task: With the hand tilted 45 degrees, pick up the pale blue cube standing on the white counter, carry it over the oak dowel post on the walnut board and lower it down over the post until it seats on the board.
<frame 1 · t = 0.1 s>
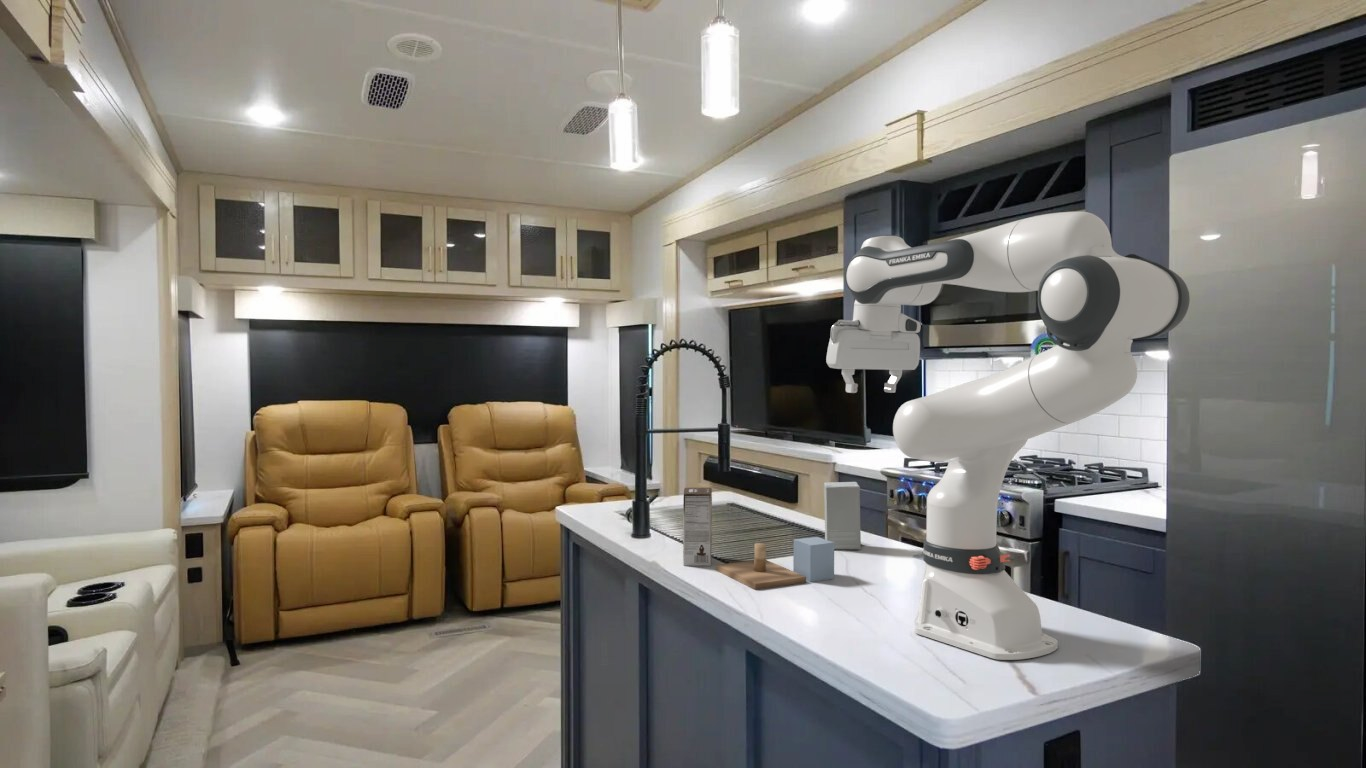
hand: (870, 392, 148), 39 cm above the counter, tool pointing down, fingers open, 8 cm apart
pale blue cube: (813, 576, 158), on the counter
coffee box: (697, 562, 171), on the counter
post base: (759, 576, 158), on the counter
skincare box: (841, 548, 185), on the counter
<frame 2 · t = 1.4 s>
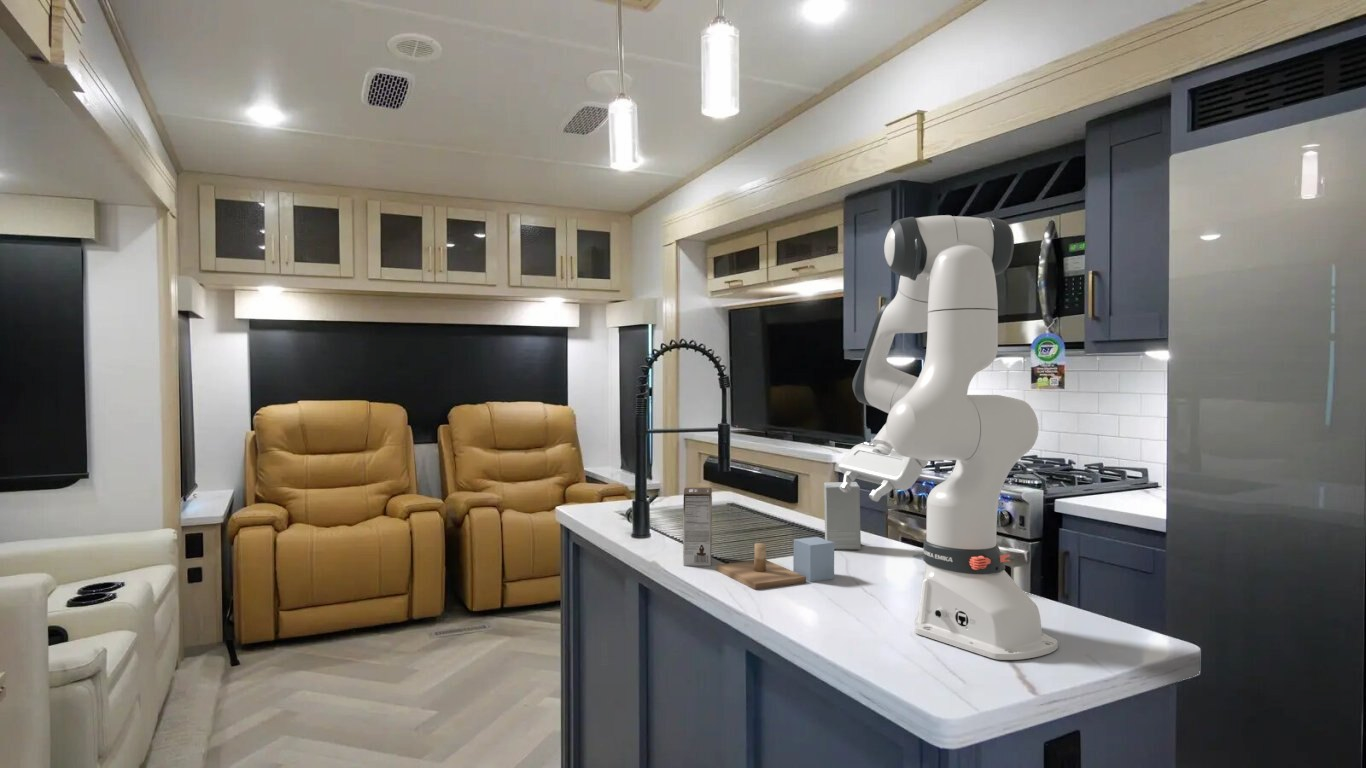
hand: (857, 494, 163), 16 cm above the counter, tool tilted 45°, fingers open, 8 cm apart
nothing on the counter moved.
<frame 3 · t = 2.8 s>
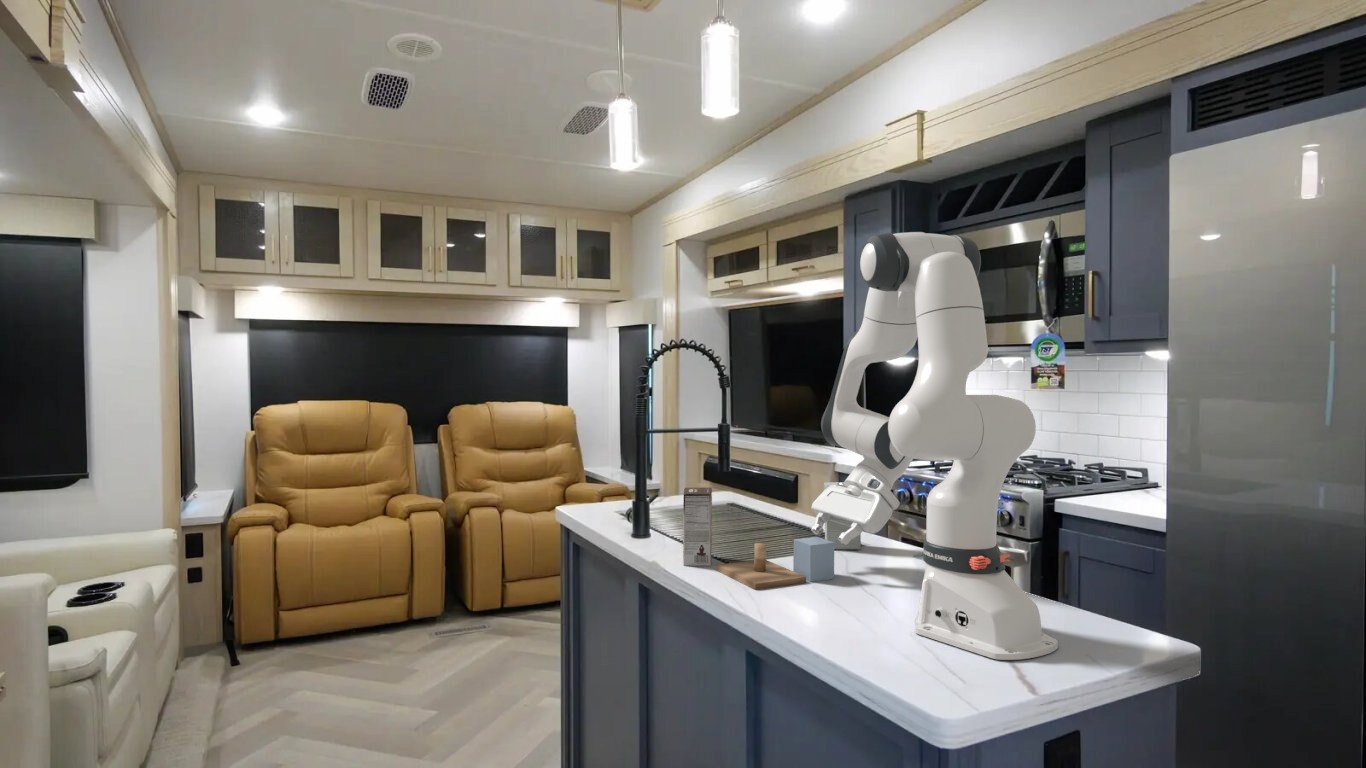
hand: (827, 537, 160), 8 cm above the counter, tool tilted 45°, fingers open, 8 cm apart
nothing on the counter moved.
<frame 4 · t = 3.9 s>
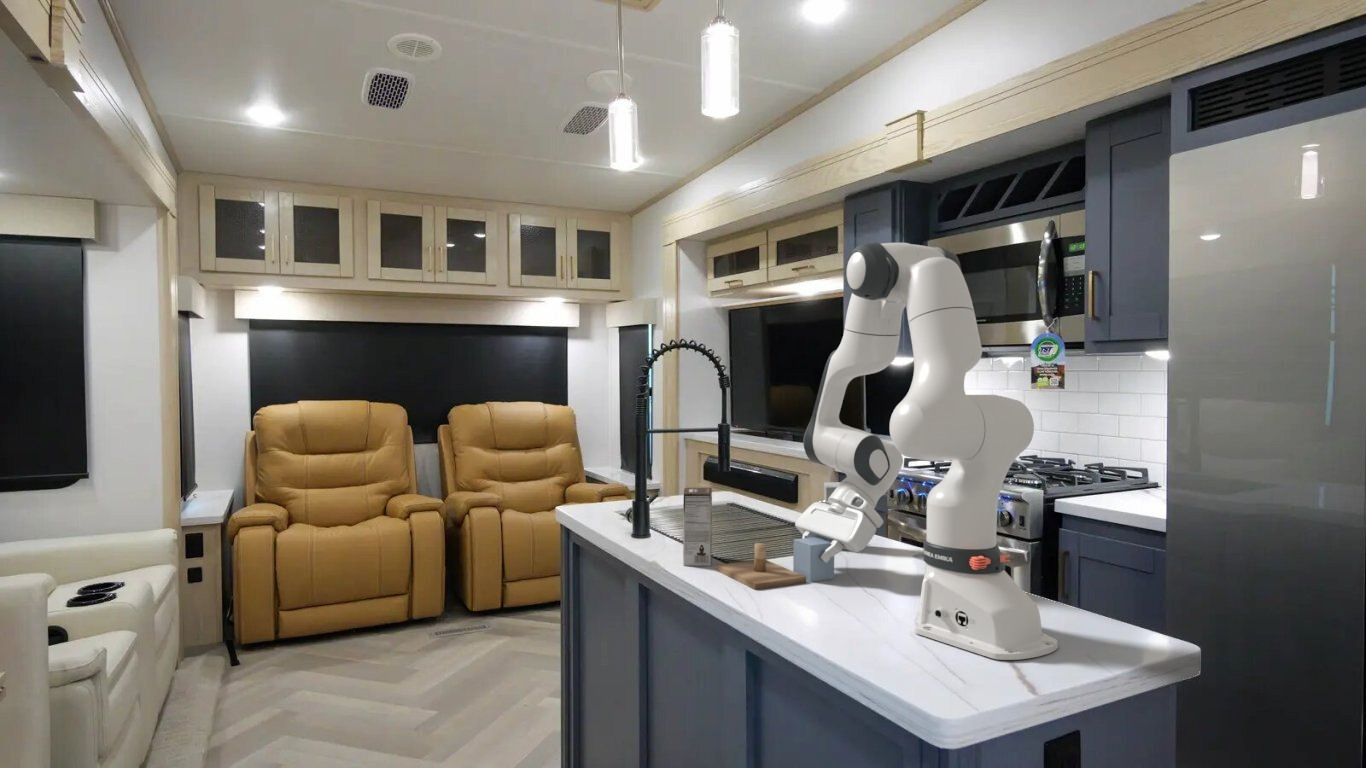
hand: (811, 556, 158), 4 cm above the counter, tool tilted 45°, fingers closed on pale blue cube, 6 cm apart
pale blue cube: (813, 576, 158), on the counter, touching gripper
everything else where it was.
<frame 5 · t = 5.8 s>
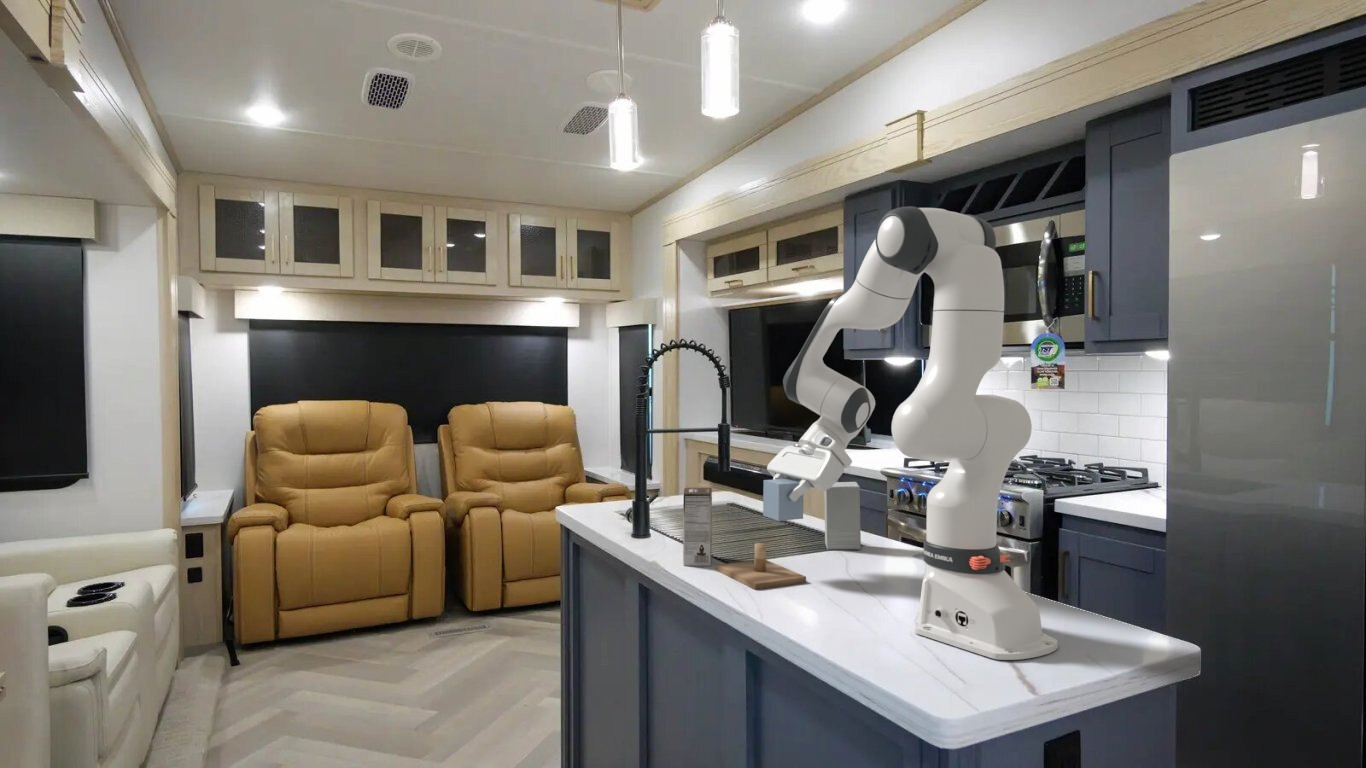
hand: (780, 496, 158), 17 cm above the counter, tool tilted 45°, fingers closed on pale blue cube, 6 cm apart
pale blue cube: (782, 517, 158), point 12 cm above the counter, touching gripper
everything else where it was.
when the fingers open (7 cm above the counter, at t = 8.0 s): pale blue cube drops 1 cm, resting on post base.
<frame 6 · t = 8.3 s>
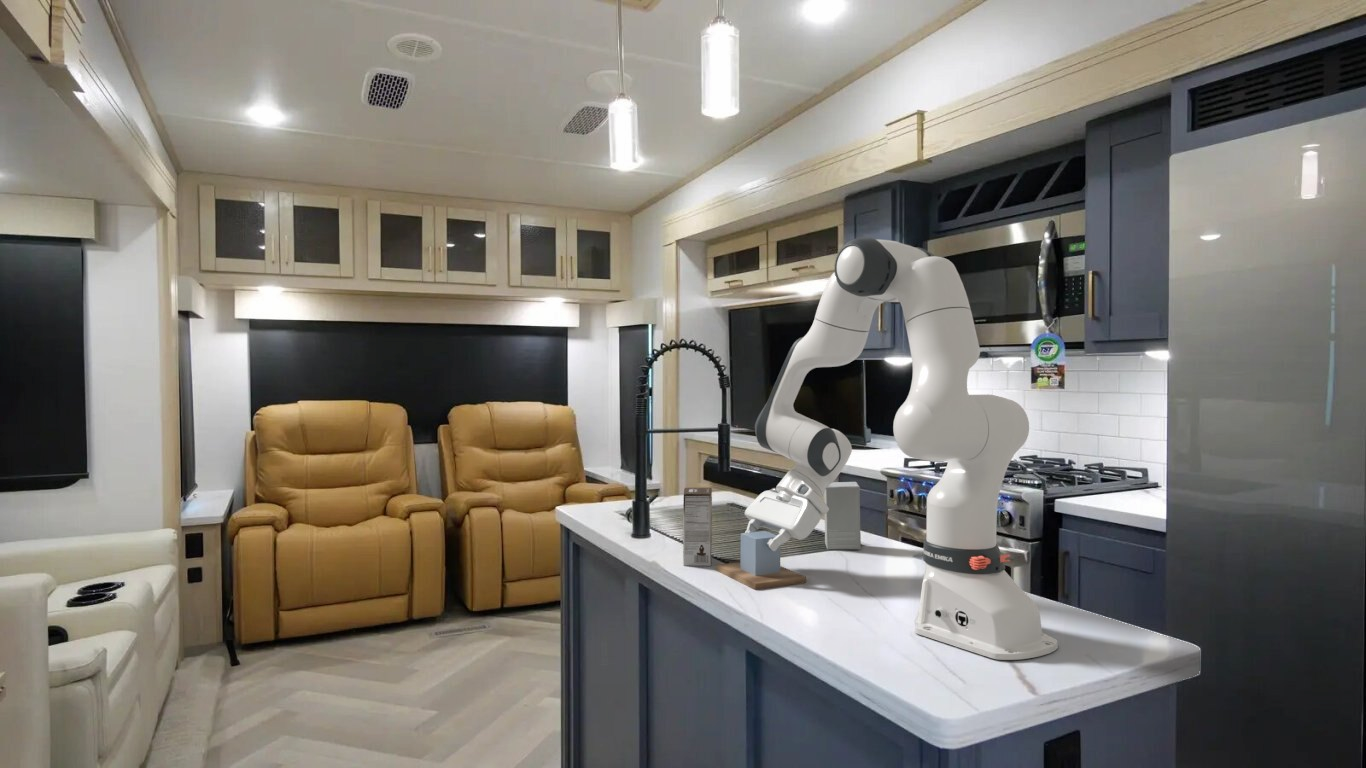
hand: (757, 543, 158), 7 cm above the counter, tool tilted 45°, fingers open, 8 cm apart
pale blue cube: (760, 570, 158), point 1 cm above the counter, touching post base
everything else where it was.
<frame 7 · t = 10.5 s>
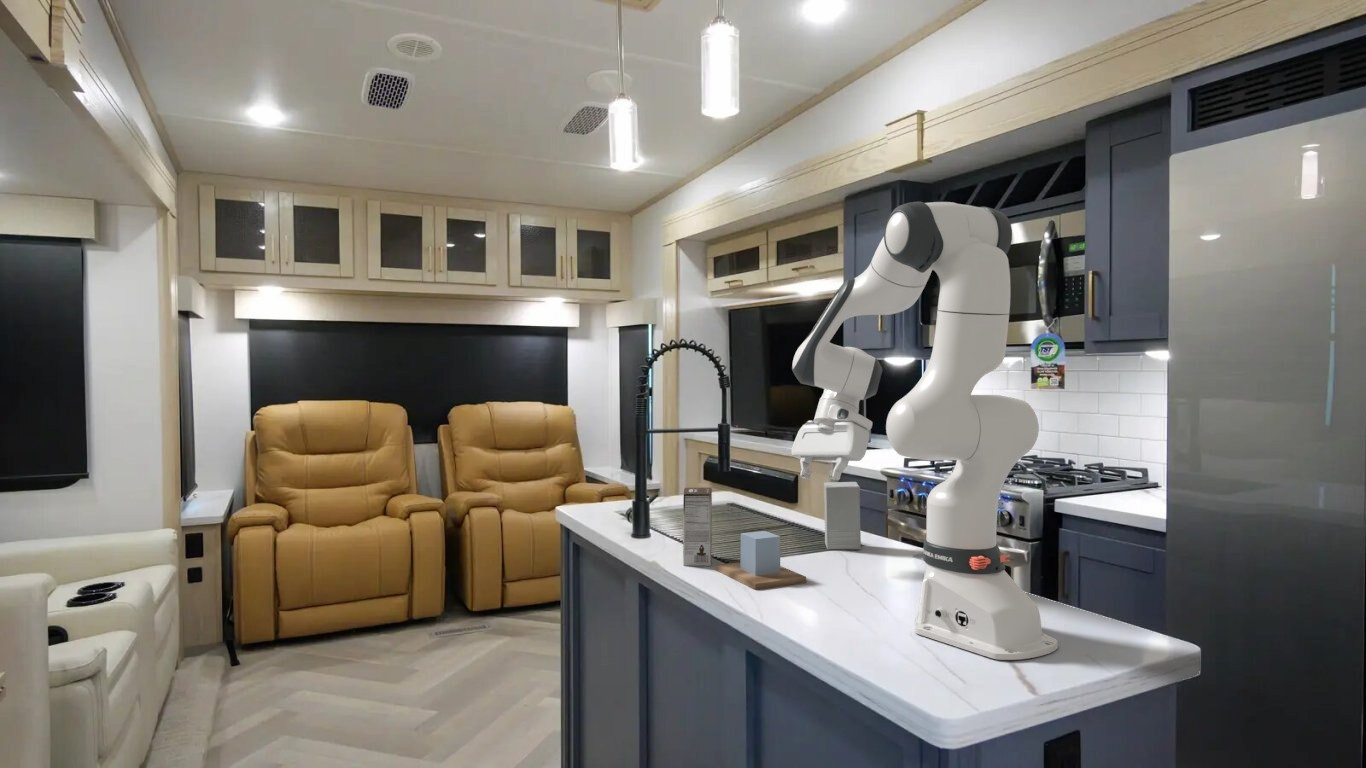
hand: (818, 478, 162), 20 cm above the counter, tool tilted 25°, fingers open, 8 cm apart
nothing on the counter moved.
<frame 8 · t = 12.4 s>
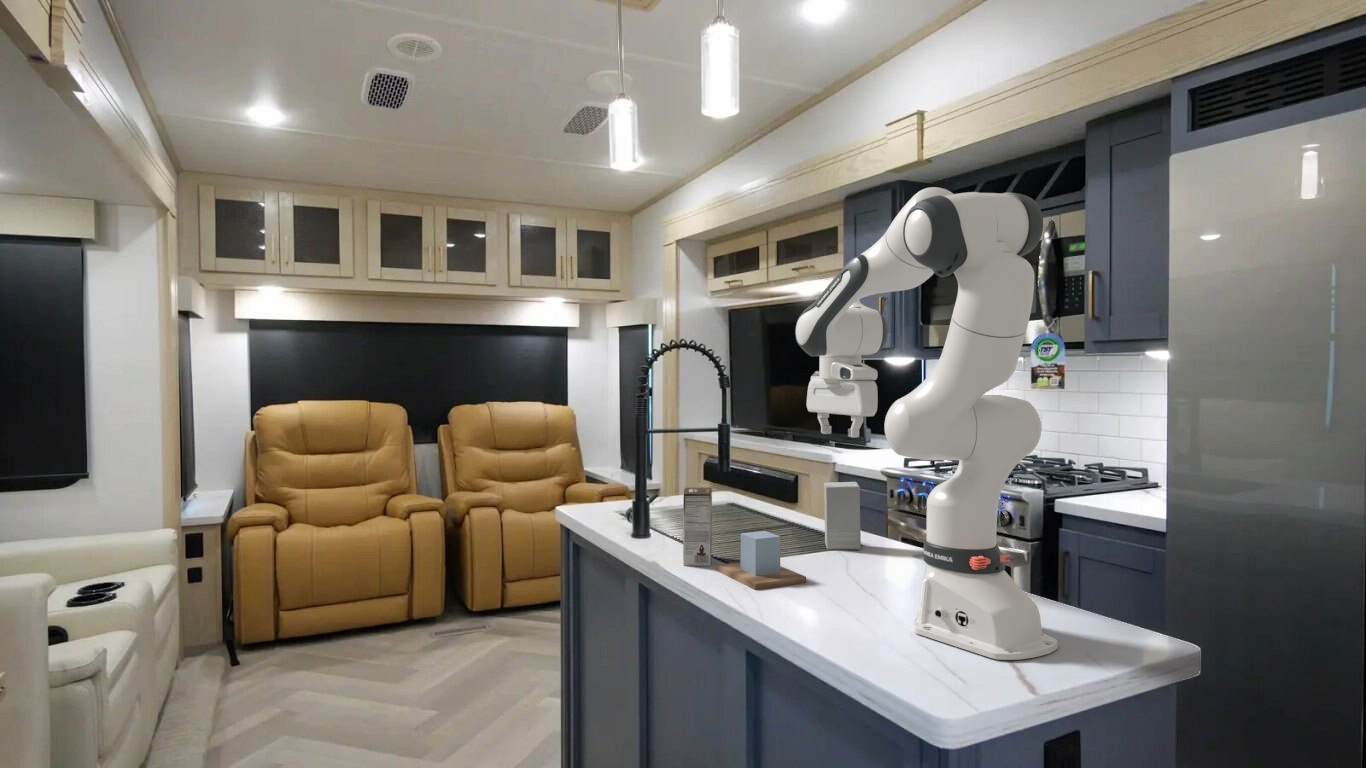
hand: (839, 435, 163), 29 cm above the counter, tool pointing down, fingers open, 8 cm apart
nothing on the counter moved.
at the end: pale blue cube 0.1 cm off-centre on the post base, point 1.2 cm above the post base's base; pale blue cube tilted 0°; the gripper is holding nothing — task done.
